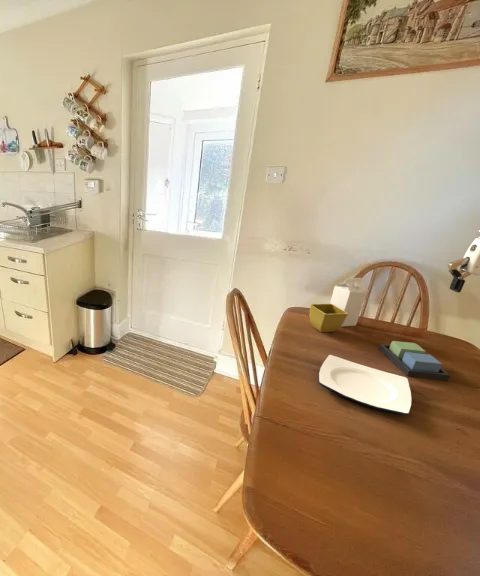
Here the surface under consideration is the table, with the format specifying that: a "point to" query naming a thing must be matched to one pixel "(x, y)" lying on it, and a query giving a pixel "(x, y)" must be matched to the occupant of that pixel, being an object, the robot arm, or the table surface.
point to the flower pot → (326, 317)
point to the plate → (366, 385)
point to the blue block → (421, 362)
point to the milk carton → (349, 299)
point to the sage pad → (404, 348)
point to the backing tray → (407, 371)
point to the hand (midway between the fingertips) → (474, 292)
